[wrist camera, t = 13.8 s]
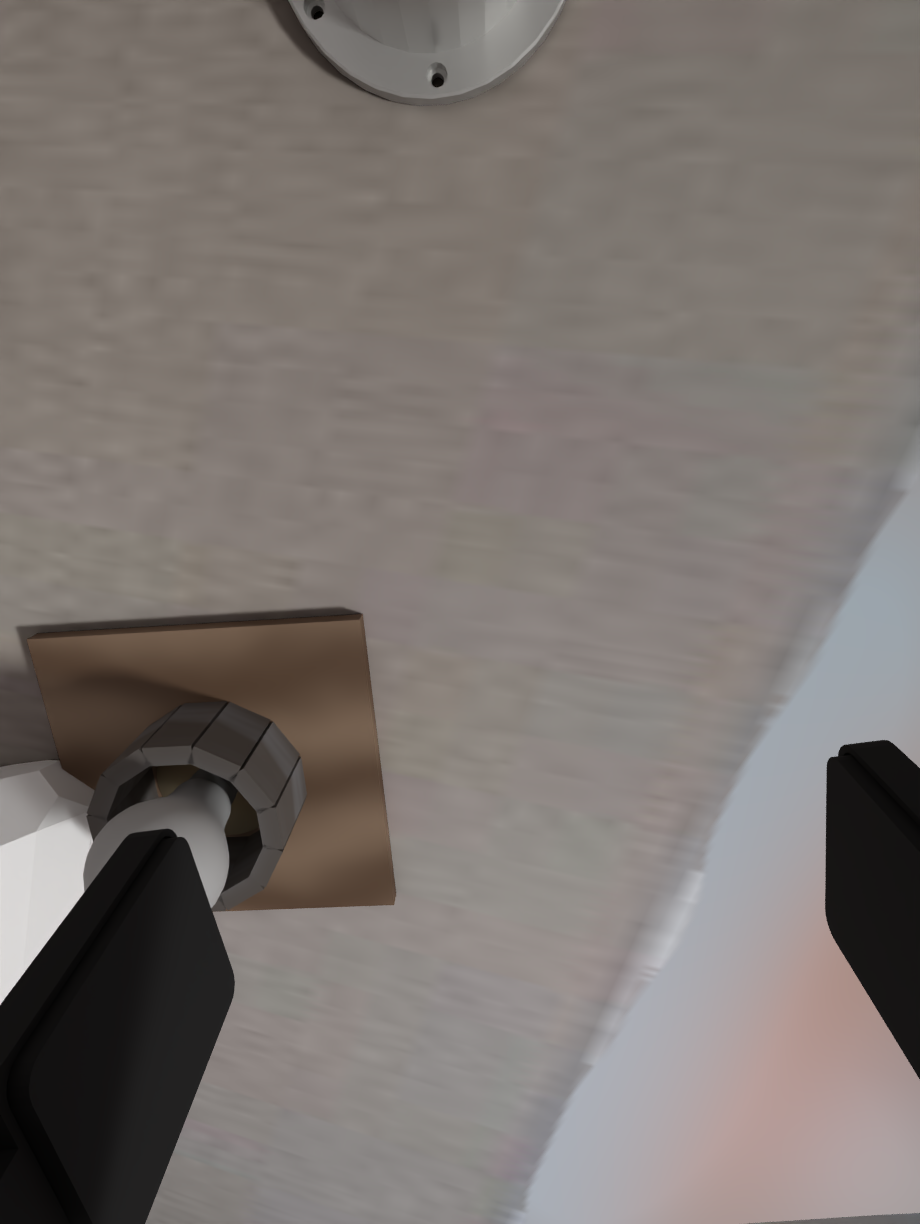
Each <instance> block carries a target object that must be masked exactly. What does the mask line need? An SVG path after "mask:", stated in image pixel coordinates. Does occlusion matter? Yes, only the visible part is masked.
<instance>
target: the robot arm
mask: <svg viewBox="0 0 920 1224" xmlns="http://www.w3.org/2000/svg"><path fill="white" fill-rule="evenodd" d="M288 1H289V3H290V5H291V7H292V9H293V11H294V13H295V15H296V17H297V19H298V21H299V23H300V24H301V26H302V27H303V29H304V30H305V32H306V33H307V35H308V36H309V38H310V39H311V40H312V42H313V43H314V45H315V46H316V48H317V49H318V51H319V52H320V53H321V54H322V55H323V56H324V57H325V58H326V59H327V60H328V61H329V62H330V63H331V64H332V65H333V66H334V67H335V68H336V69H337V70H338V71H339V72H340V73H341V74H343V75H344V76H345V77H347V78H348V79H350V80H351V81H353V82H354V83H356V84H357V85H358V86H360V87H361V88H363V89H364V90H366V91H369V92H371V93H373V94H376V95H378V96H381V97H383V98H385V99H388V100H390V101H394V102H399V103H405V104H410V105H416V106H432V105H448V104H452V103H456V102H459V101H463V100H467V99H470V98H474V97H476V96H478V95H480V94H482V93H484V92H486V91H488V90H490V89H491V88H493V87H495V86H497V85H499V84H501V83H502V82H503V81H504V80H506V79H507V78H508V77H509V76H511V75H512V74H513V73H514V72H516V71H517V70H518V69H519V68H521V67H522V66H523V65H524V64H525V63H526V62H527V61H528V59H529V58H530V57H531V56H532V55H533V54H534V52H535V51H536V50H537V49H538V48H539V47H540V45H541V44H542V43H543V42H544V41H545V39H546V37H547V36H548V34H549V32H550V30H551V29H552V27H553V25H554V24H555V22H556V20H557V19H558V17H559V15H560V14H561V12H562V9H563V7H564V4H565V2H566V0H288ZM318 11H322V12H323V13H324V14H323V15H322V17H321V18H319V19H317V20H314V19H313V18H314V14H315V13H316V12H318ZM437 77H439V78H442V79H443V80H444V84H443V85H442V86H441V87H438V88H437V87H434V86H433V85H432V81H433V80H434V79H435V78H437ZM826 800H827V801H826V804H827V805H826V893H825V896H826V897H825V910H826V917H827V922H828V926H829V929H830V931H831V934H832V936H833V938H834V939H835V941H836V943H837V945H838V946H839V948H840V950H841V951H842V953H843V955H844V956H845V958H846V959H847V961H848V963H849V964H850V966H851V968H852V969H853V971H854V973H855V974H856V976H857V977H858V979H859V981H860V982H861V984H862V986H863V987H864V989H865V990H866V992H867V994H868V995H869V997H870V999H871V1000H872V1002H873V1004H874V1005H875V1007H876V1009H877V1010H878V1012H879V1013H880V1015H881V1017H882V1018H883V1020H884V1022H885V1023H886V1025H887V1027H888V1028H889V1030H890V1031H891V1033H892V1035H893V1036H894V1038H895V1039H896V1041H897V1043H898V1044H899V1046H900V1048H901V1049H902V1051H903V1053H904V1054H905V1056H906V1057H907V1059H908V1061H909V1062H910V1064H911V1066H912V1067H913V1069H914V1070H915V1072H916V1074H917V1076H918V1077H919V1079H920V768H919V767H918V766H917V765H916V764H915V763H913V762H912V761H911V760H910V759H909V758H908V757H907V756H906V755H905V754H904V753H903V752H902V751H901V750H899V749H898V748H897V747H896V746H895V745H894V744H893V743H891V742H890V741H887V740H880V741H872V742H865V743H856V744H849V745H844V746H842V747H841V748H840V750H839V754H838V757H831V758H830V759H829V760H828V762H827V794H826ZM234 985H235V981H234V974H233V970H232V967H231V964H230V961H229V958H228V955H227V953H226V950H225V947H224V944H223V941H222V938H221V935H220V932H219V930H218V927H217V924H216V921H215V918H214V915H213V912H212V909H211V907H210V904H209V901H208V898H207V895H206V892H205V889H204V886H203V883H202V881H201V878H200V875H199V872H198V869H197V866H196V863H195V860H194V858H193V855H192V852H191V849H190V846H189V844H188V842H187V840H186V839H185V838H184V837H177V835H176V833H175V832H174V831H173V830H171V829H168V828H167V829H159V830H151V831H143V832H135V833H131V834H129V835H128V836H127V837H126V838H125V839H124V840H123V841H122V843H121V844H120V845H119V847H118V848H117V849H116V851H115V852H114V853H113V855H112V856H111V857H110V859H109V860H108V861H107V863H106V864H105V865H104V867H103V868H102V869H101V871H100V872H99V873H98V875H97V876H96V877H95V879H94V880H93V881H92V883H91V884H90V885H89V887H88V888H87V889H86V891H85V892H84V893H83V895H82V896H81V897H80V899H79V900H78V901H77V903H76V904H75V905H74V907H73V908H72V909H71V911H70V912H69V913H68V915H67V916H66V917H65V919H64V920H63V921H62V923H61V924H60V925H59V927H58V928H57V929H56V931H55V932H54V933H53V935H52V936H51V937H50V939H49V940H48V941H47V943H46V944H45V946H44V947H43V948H42V950H41V951H40V952H39V954H38V955H37V956H36V958H35V959H34V960H33V962H32V963H31V964H30V966H29V967H28V968H27V970H26V971H25V972H24V974H23V975H22V976H21V978H20V979H19V980H18V982H17V983H16V984H15V986H14V987H13V988H12V990H11V991H10V992H9V994H8V995H7V996H6V998H5V999H4V1000H3V1002H2V1003H1V1004H0V1224H145V1222H146V1220H147V1217H148V1215H149V1212H150V1210H151V1207H152V1204H153V1202H154V1199H155V1197H156V1194H157V1192H158V1189H159V1187H160V1184H161V1181H162V1179H163V1176H164V1174H165V1171H166V1169H167V1166H168V1163H169V1161H170V1158H171V1156H172V1153H173V1151H174V1148H175V1146H176V1143H177V1140H178V1138H179V1135H180V1133H181V1130H182V1128H183V1125H184V1122H185V1120H186V1117H187V1115H188V1112H189V1110H190V1107H191V1104H192V1102H193V1099H194V1097H195V1094H196V1092H197V1089H198V1087H199V1084H200V1081H201V1079H202V1076H203V1074H204V1071H205V1069H206V1066H207V1063H208V1061H209V1058H210V1056H211V1053H212V1051H213V1048H214V1046H215V1043H216V1040H217V1038H218V1035H219V1033H220V1030H221V1028H222V1025H223V1022H224V1020H225V1017H226V1015H227V1012H228V1010H229V1007H230V1004H231V1002H232V999H233V994H234ZM749 1224H920V1213H914V1214H894V1215H893V1214H892V1215H874V1216H873V1215H872V1216H858V1217H842V1218H827V1219H811V1220H797V1221H796V1220H795V1221H781V1222H765V1223H749Z"/></svg>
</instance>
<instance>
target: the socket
mask: <svg viewBox="0 0 920 1224" xmlns="http://www.w3.org/2000/svg"><path fill="white" fill-rule="evenodd" d="M27 643H28V647H29V650H30V654H31V658H32V661H33V665H34V668H35V672H36V676H37V679H38V683H39V687H40V690H41V694H42V698H43V701H44V705H45V709H46V712H47V716H48V720H49V723H50V727H51V730H52V734H53V738H54V741H55V745H56V749H57V752H58V756H59V760H60V763H61V767H62V769H63V770H64V771H66V772H67V773H69V774H70V775H72V776H73V777H75V778H77V779H78V780H80V781H81V782H83V783H84V784H86V785H87V786H89V787H90V788H92V789H93V790H95V791H94V794H93V797H92V799H91V802H90V805H89V808H88V810H87V814H88V815H87V816H86V817H87V821H88V825H89V828H90V832H91V836H92V839H93V842H94V840H95V838H96V836H97V835H98V834H99V832H100V831H101V830H102V829H103V827H104V826H105V825H106V824H107V823H108V822H109V821H110V820H111V819H112V818H114V817H115V816H116V815H117V814H119V813H120V812H122V811H124V810H125V809H127V808H129V807H131V806H133V805H135V804H137V803H141V802H144V801H148V800H152V799H156V798H160V797H166V796H168V795H170V794H171V793H172V792H173V791H174V790H175V789H176V788H177V787H178V786H179V785H180V784H182V783H183V782H185V781H188V780H189V779H190V778H191V777H192V776H193V774H195V773H196V772H197V771H198V770H199V769H203V770H205V771H207V772H210V773H212V774H214V775H217V776H219V777H221V778H224V779H226V780H228V781H230V782H231V783H232V784H233V785H234V786H235V787H236V789H237V790H238V792H237V794H236V797H235V799H234V801H233V803H232V805H231V813H230V816H229V818H228V821H227V823H226V825H225V829H224V832H225V836H226V840H227V845H228V852H229V869H228V874H227V879H226V883H225V886H224V888H223V890H222V892H221V894H220V896H219V898H218V900H217V902H216V903H215V905H214V906H213V907H212V908H211V909H212V912H215V911H242V910H268V909H295V908H322V907H348V906H375V905H394V902H395V897H396V889H395V880H394V872H393V863H392V855H391V847H390V838H389V830H388V822H387V813H386V805H385V797H384V788H383V780H382V772H381V763H380V755H379V747H378V738H377V730H376V721H375V713H374V705H373V696H372V688H371V680H370V671H369V663H368V655H367V646H366V638H365V630H364V621H363V614H354V615H337V616H320V617H303V618H287V619H270V620H253V621H236V622H219V623H202V624H186V625H169V626H152V627H135V628H118V629H102V630H85V631H68V632H51V633H37V634H36V635H34V636H32V637H30V638H28V639H27ZM90 842H91V840H90ZM89 850H90V848H89Z"/></svg>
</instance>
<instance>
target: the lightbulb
mask: <svg viewBox="0 0 920 1224" xmlns="http://www.w3.org/2000/svg"><path fill="white" fill-rule="evenodd" d="M237 792H238V790H237V789H236V787H235V786H234V785H233V784H232V783H231V782H230V781H228V780H226V779H224V778H221V777H219V776H217V775H214V774H212V773H210V772H207V771H205V770H203V769H199V770H198V771H197V772H196V773H195V774H193V776H192V777H191V778H190V779H189V780H188V781H185V782H183V783H182V784H180V785H179V786H178V787H177V788H176V789H175V790H174V791H173V792H172V793H171V794H170V795H168V796H166V797H160V798H156V799H152V800H148V801H144V802H141V803H137V804H135V805H133V806H131V807H129V808H127V809H125V810H124V811H122V812H120V813H119V814H117V815H116V816H115V817H114V818H112V819H111V820H110V821H109V822H108V823H107V824H106V825H105V826H104V827H103V829H102V830H101V831H100V832H99V834H98V835H97V836H96V838H95V840H94V842H93V844H92V845H91V848H90V850H89V852H88V854H87V858H86V862H85V866H84V872H83V882H84V892H85V891H86V889H87V888H88V887H89V885H90V884H91V883H92V881H93V880H94V879H95V877H96V876H97V875H98V873H99V872H100V871H101V869H102V868H103V867H104V865H105V864H106V863H107V861H108V860H109V859H110V857H111V856H112V855H113V853H114V852H115V851H116V849H117V848H118V847H119V845H120V844H121V843H122V841H123V840H124V839H125V838H126V837H127V836H128V835H129V834H131V833H135V832H143V831H151V830H159V829H167V828H168V829H171V830H173V831H174V832H175V833H176V835H177V837H184V838H185V839H186V840H187V842H188V844H189V846H190V849H191V852H192V855H193V858H194V860H195V863H196V866H197V869H198V872H199V875H200V878H201V881H202V883H203V886H204V889H205V892H206V895H207V898H208V901H209V904H210V907H211V908H212V907H213V906H214V905H215V903H216V902H217V900H218V898H219V896H220V894H221V892H222V890H223V888H224V886H225V883H226V879H227V874H228V869H229V852H228V845H227V840H226V836H225V832H224V829H225V825H226V823H227V821H228V818H229V816H230V813H231V805H232V803H233V801H234V799H235V797H236V794H237Z"/></svg>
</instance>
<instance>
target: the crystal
mask: <svg viewBox="0 0 920 1224" xmlns="http://www.w3.org/2000/svg"><path fill="white" fill-rule="evenodd" d="M94 791H95V790H93V789H92V788H90V787H89V786H87V785H86V784H84V783H83V782H81V781H80V780H78V779H77V778H75V777H73V776H72V775H70V774H69V773H67V772H66V771H64V770H63V769H62V767H61V763H60V761H59V760H44V761H36V762H29V763H21V764H13V765H8V766H3V767H0V1004H1V1003H2V1002H3V1000H4V999H5V998H6V996H7V995H8V994H9V992H10V991H11V990H12V988H13V987H14V986H15V984H16V983H17V982H18V980H19V979H20V978H21V976H22V975H23V974H24V972H25V971H26V970H27V968H28V967H29V966H30V964H31V963H32V962H33V960H34V959H35V958H36V956H37V955H38V954H39V952H40V951H41V950H42V948H43V947H44V946H45V944H46V943H47V941H48V940H49V939H50V937H51V936H52V935H53V933H54V932H55V931H56V929H57V928H58V927H59V925H60V924H61V923H62V921H63V920H64V919H65V917H66V916H67V915H68V913H69V912H70V911H71V909H72V908H73V907H74V905H75V904H76V903H77V901H78V900H79V899H80V897H81V896H82V895H83V893H84V882H83V872H84V866H85V862H86V858H87V854H88V852H89V848H91V845H92V844H93V839H92V836H91V832H90V828H89V825H88V821H87V817H86V816H87V815H88V814H87V810H88V808H89V805H90V802H91V799H92V797H93V794H94ZM66 819H67V820H66ZM61 821H62V822H61ZM53 824H54V825H53ZM48 826H49V827H48ZM40 829H41V830H40ZM35 831H36V832H35ZM30 833H31V834H30ZM23 836H24V837H23ZM18 838H19V839H18ZM13 840H14V841H13ZM90 840H91V842H90Z"/></svg>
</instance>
